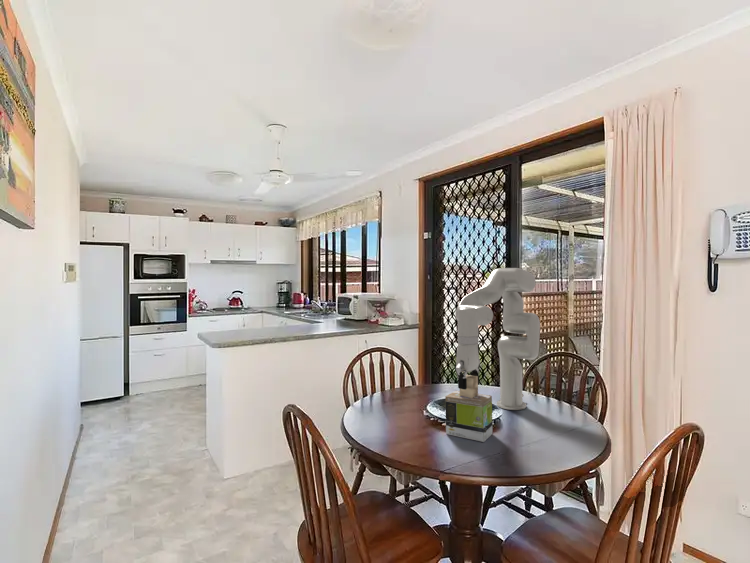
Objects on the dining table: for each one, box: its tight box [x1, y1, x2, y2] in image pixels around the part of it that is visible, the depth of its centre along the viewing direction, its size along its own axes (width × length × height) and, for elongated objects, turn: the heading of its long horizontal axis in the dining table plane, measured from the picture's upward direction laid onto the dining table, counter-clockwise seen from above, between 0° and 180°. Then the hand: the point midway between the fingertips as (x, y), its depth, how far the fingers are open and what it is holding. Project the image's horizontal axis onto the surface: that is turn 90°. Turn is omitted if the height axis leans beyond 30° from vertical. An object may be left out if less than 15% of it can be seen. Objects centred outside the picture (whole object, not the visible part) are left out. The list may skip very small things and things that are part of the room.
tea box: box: [444, 390, 493, 443], centre depth 159 cm, size 15×10×15 cm
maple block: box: [459, 374, 479, 398], centre depth 159 cm, size 5×5×7 cm
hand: (468, 385), depth 159 cm, fingers open, 9 cm apart
